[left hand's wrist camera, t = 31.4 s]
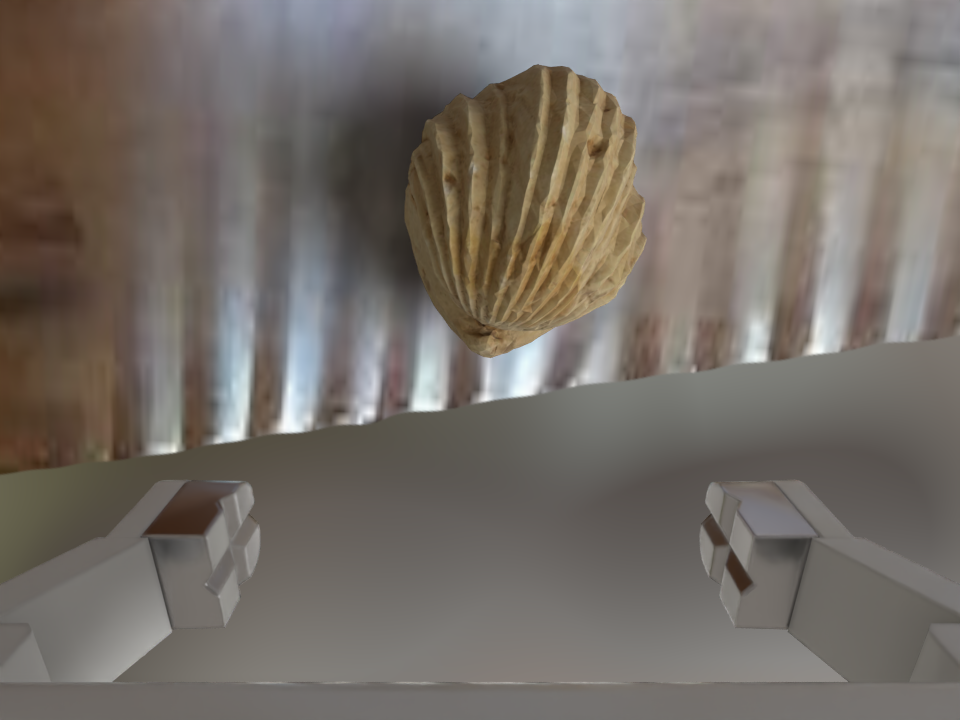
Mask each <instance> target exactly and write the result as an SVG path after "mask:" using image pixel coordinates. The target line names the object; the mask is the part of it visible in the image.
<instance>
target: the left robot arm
mask: <svg viewBox="0 0 960 720" xmlns="http://www.w3.org/2000/svg"><path fill="white" fill-rule="evenodd" d="M254 503H255V500H254V495H253V491H252V486H251V485H250V484H249V483H248V482H246V481H199V480H192V481H189V480H163V481H160V482H156V483H155V484H154V486H153V487H152V488H151V489H150V490H149V491H148V492H147V493H146V494H145V495H144V496H143V498H142V499H141V500H140V501H139V502H138V503H137V504H136V505H135V506H134V507H133V508H132V510H131V511H130V512H129V513H128V514H127V515H126V516H125V517H124V518H123V519H122V520H121V522H120V523H119V524H118V525H117V526H116V527H115V528H114V529H113V530H112V531H111V532H110V533H109V535H108V536H107V537H106V538H95V539H92V540H90V541H88V542H86V543H84V544H82V545H80V546H78V547H76V548H74V549H72V550H70V551H68V552H66V553H63V554H61V555H59V556H57V557H55V558H53V559H51V560H49V561H47V562H45V563H43V564H41V565H39V566H37V567H34V568H32V569H30V570H28V571H26V572H24V573H22V574H20V575H18V576H16V577H14V578H12V579H10V580H8V581H5V582H3V583H1V584H0V720H960V584H958V583H956V582H954V581H952V580H950V579H948V578H946V577H944V576H942V575H940V574H938V573H936V572H934V571H932V570H930V569H927V568H925V567H923V566H921V565H919V564H917V563H915V562H913V561H911V560H909V559H907V558H905V557H903V556H901V555H899V554H896V553H894V552H892V551H890V550H888V549H886V548H884V547H882V546H880V545H878V544H876V543H874V542H872V541H870V540H867V539H865V538H854V537H853V536H852V535H851V533H850V532H849V531H848V530H847V529H846V528H845V527H844V526H843V525H842V524H841V523H840V521H839V520H838V519H837V518H836V517H835V516H834V515H833V514H832V513H831V512H830V511H829V509H828V508H827V507H826V506H825V505H824V504H823V503H822V502H821V501H820V500H819V499H818V497H817V496H816V495H815V494H814V493H813V492H812V491H811V490H810V489H809V488H808V487H807V486H806V484H805V483H803V482H801V481H799V480H776V481H752V482H711V484H710V486H709V488H708V490H707V494H706V500H705V503H706V505H707V506H708V508H709V510H710V511H711V514H710V515H709V516H708V517H707V518H706V519H705V520H704V521H703V522H702V523H701V530H700V538H699V541H700V553H701V558H702V561H703V565H704V567H705V570H706V571H707V574H708V576H709V577H710V578H711V579H712V580H714V581H715V582H717V583H718V584H720V585H721V590H720V595H719V597H720V599H721V601H722V603H723V605H724V607H725V609H726V611H727V613H728V615H729V617H730V619H731V621H732V623H733V625H734V626H735V628H757V629H788V632H789V633H790V634H791V635H792V636H793V637H795V638H796V639H797V640H798V641H800V642H801V643H802V644H803V645H804V646H806V647H807V648H808V649H809V650H810V651H812V652H813V653H814V654H815V655H817V656H818V657H819V658H820V659H821V660H823V661H824V662H825V663H826V664H827V665H829V666H830V667H831V668H832V669H834V670H835V671H836V672H837V673H838V674H840V675H841V676H842V677H843V678H844V679H846V680H847V681H848V682H112V681H113V680H115V679H116V678H117V677H118V676H119V675H121V674H122V673H123V672H124V671H125V670H127V669H128V668H129V667H130V666H132V665H133V664H134V663H135V662H136V661H138V660H139V659H140V658H141V657H142V656H144V655H145V654H146V653H147V652H149V651H150V650H151V649H152V648H153V647H155V646H156V645H157V644H158V643H160V642H161V641H162V640H163V639H164V638H166V637H167V636H168V635H169V634H170V633H172V629H202V628H225V627H226V625H227V623H228V621H229V619H230V617H231V615H232V613H233V611H234V609H235V607H236V605H237V603H238V601H239V599H240V597H241V595H240V590H239V585H240V584H242V583H243V582H245V581H246V580H248V579H249V578H250V577H251V576H252V574H253V572H254V569H255V567H256V565H257V561H258V557H259V552H260V529H259V523H258V522H257V521H256V520H255V519H254V518H253V517H252V516H251V515H250V514H249V511H250V510H251V508H252V506H253V505H254Z"/></svg>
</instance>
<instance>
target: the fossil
mask: <svg viewBox="0 0 960 720" xmlns="http://www.w3.org/2000/svg"><path fill="white" fill-rule="evenodd" d="M636 137H637V130H636V125H635V122H634V121H633V119H632V118H631V117H628V116H626V115H624V114H622V113H621V110H620V107H619V104H618V102H617V99H616V97H615V96H613V95H612V94H610V93H607V92H605V91H603V89H602V88H601V87H600V85H599V84H598V82H597V81H596V80H595V79H590V78H587V77H585V76H582V75H577V74H575V73H574V72H573V71H572V70H571V69H570V68H569V67H564V66H557V67H547V66H542V65H534V66H532V67H531V68H529V69H528V70H526V71H524V72H522V73H520V74H518V75H516V76H514V77H512V78H510V79H508V80H506V81H504V82H501V83H496V84H489V85H488V86H487V87H486V88H485V89H483V90H482V91H481V92H480V93H479V94H478V95H477V96H476V97H474V98H473V99H471V98H468V97H466V96H465V95H463V94H461V93H460V94H459V95H457V96H456V97H455V98H454V99H453V100H452V101H451V103H450V104H448V105H446V106H445V108H444V111H443V112H441V113H440V114H438V115H436V116H435V117H434V118H433V119H427V121H426V122H425V126H424V130H423V131H422V143H421V144H420V145H419V146H418V147H417V148H416V149H415V150H414V151H413V153H412V156H411V164H410V167H409V171H408V175H409V176H408V180H409V183H408V186H407V188H406V190H405V194H406V199H405V213H404V220H405V223H406V226H407V230H408V233H409V236H410V239H411V244H412V250H413V254H414V257H415V260H416V263H417V266H418V271H419V274H420V276H421V279H422V281H423V284H424V287H425V289H426V291H427V293H428V295H429V297H430V299H431V301H432V302H433V304H434V306H435V308H436V309H437V310H438V312H439V313H440V314H441V316H442V317H443V318H444V320H445V321H446V323H447V324H448V326H449V327H450V328H451V329H452V330H453V331H454V332H455V333H456V334H457V335H458V336H459V337H460V338H461V339H462V340H463V341H464V342H465V344H466V345H467V346H468V348H469V349H470V350H471V351H473V352H475V353H477V354H479V355H481V356H483V357H488V358H492V357H495V356H498V355H500V354H504V353H508V352H509V351H511V350H513V349H515V348H519V347H521V346H524V345H526V344H528V343H531V342H532V341H534V340H535V339H537V338H538V337H540V336H541V335H543V334H545V333H546V332H548V331H550V330H551V329H553V328H554V327H557V326H561V325H564V324H566V323H569V322H571V321H573V320H576V319H578V318H580V317H582V316H584V315H585V314H587V313H589V312H591V311H592V310H594V309H596V308H598V307H600V306H603V305H605V304H607V303H608V302H610V301H611V300H612V299H613V298H615V297H616V295H617V292H618V290H619V289H620V288H621V287H622V286H623V284H624V283H625V281H626V278H627V276H628V275H629V274H630V273H631V271H632V268H633V266H634V264H635V263H636V261H637V259H638V258H639V256H640V255H641V253H642V252H643V249H644V246H645V243H646V239H647V238H646V237H645V236H644V234H643V233H642V232H641V231H642V224H641V219H642V216H643V214H644V207H645V200H644V198H643V197H642V196H640V195H639V194H638V193H637V191H636V190H635V188H634V186H633V179H634V176H635V173H636V170H637V167H636V166H635V164H634V161H633V159H634V155H635V147H636Z"/></svg>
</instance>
